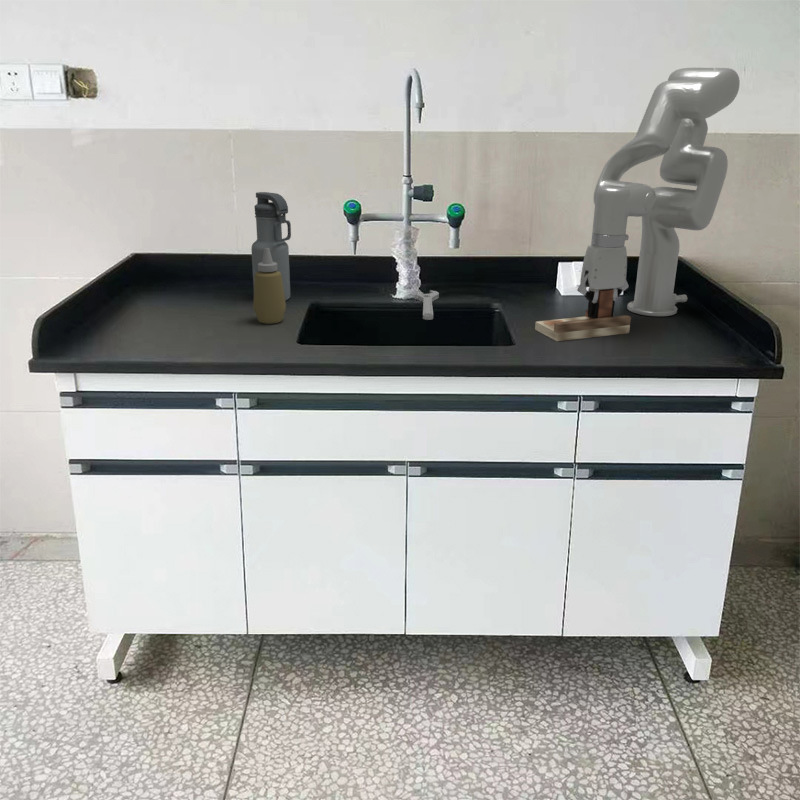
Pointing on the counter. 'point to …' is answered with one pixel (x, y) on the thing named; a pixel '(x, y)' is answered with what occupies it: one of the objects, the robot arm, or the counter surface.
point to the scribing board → (577, 334)
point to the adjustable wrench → (427, 303)
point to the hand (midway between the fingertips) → (600, 316)
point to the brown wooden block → (604, 303)
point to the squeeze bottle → (268, 291)
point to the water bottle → (272, 235)
